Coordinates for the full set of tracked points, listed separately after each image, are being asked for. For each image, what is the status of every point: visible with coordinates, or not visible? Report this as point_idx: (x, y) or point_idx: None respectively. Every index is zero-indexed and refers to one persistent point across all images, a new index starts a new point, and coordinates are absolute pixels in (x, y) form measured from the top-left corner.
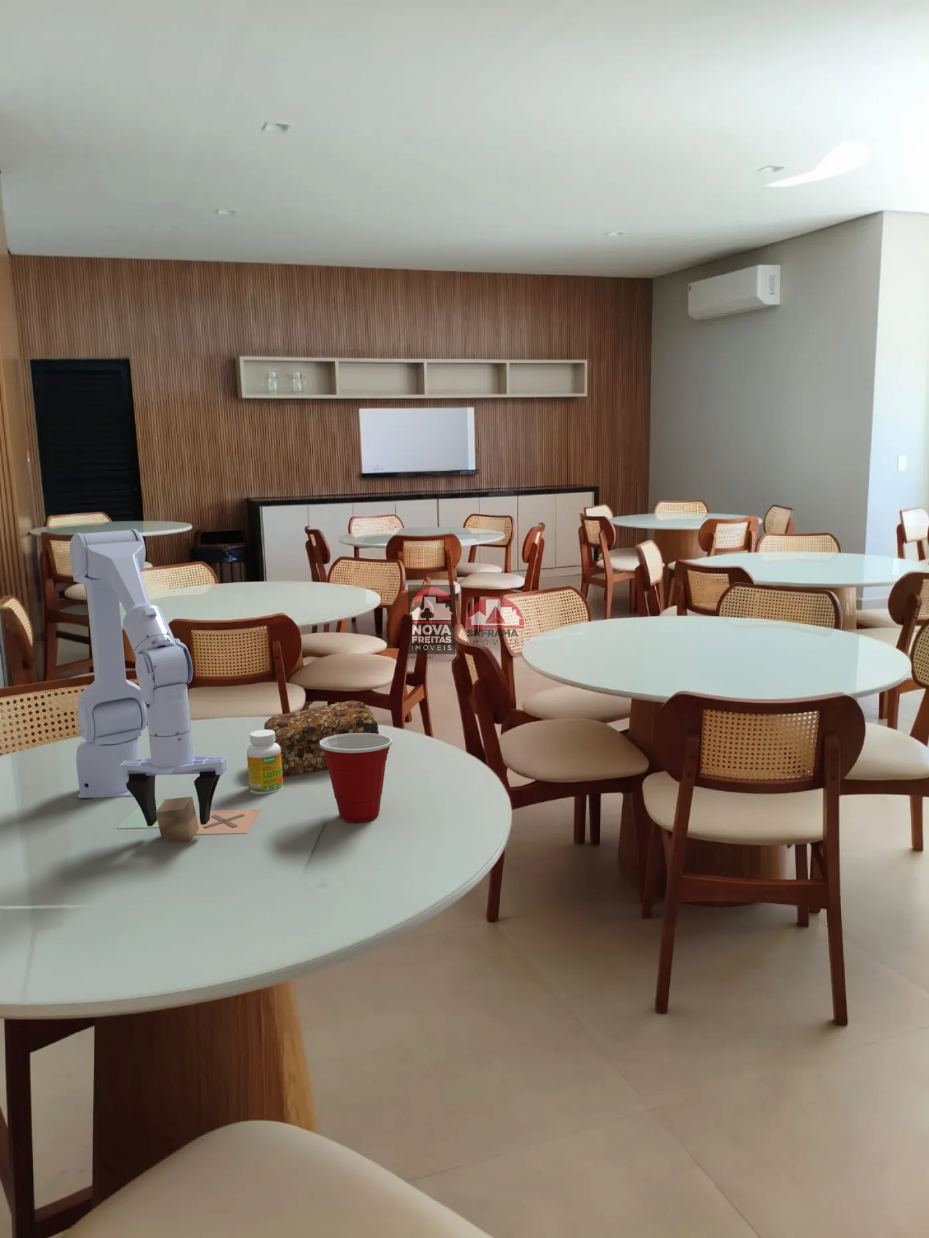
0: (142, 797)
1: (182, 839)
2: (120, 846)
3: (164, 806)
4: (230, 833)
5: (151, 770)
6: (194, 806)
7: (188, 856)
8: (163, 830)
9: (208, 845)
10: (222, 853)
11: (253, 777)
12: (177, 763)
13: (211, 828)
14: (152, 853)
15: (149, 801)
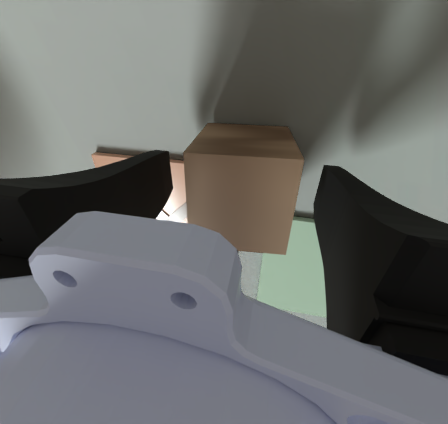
0: (378, 210)
1: (228, 124)
2: (423, 129)
3: (274, 200)
4: (127, 157)
5: (330, 348)
6: (257, 296)
7: (184, 17)
8: (280, 135)
9: (158, 102)
10: (94, 35)
11: None
12: (10, 360)
13: (183, 192)
14: (309, 56)
15: (340, 224)
